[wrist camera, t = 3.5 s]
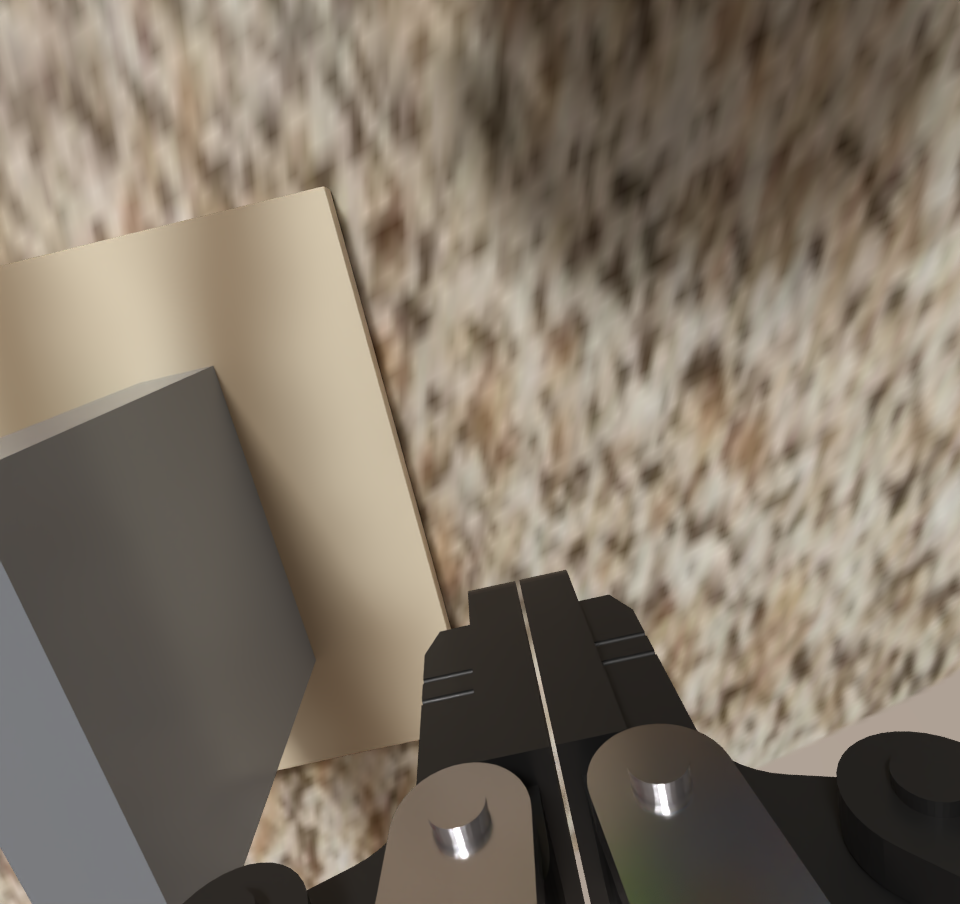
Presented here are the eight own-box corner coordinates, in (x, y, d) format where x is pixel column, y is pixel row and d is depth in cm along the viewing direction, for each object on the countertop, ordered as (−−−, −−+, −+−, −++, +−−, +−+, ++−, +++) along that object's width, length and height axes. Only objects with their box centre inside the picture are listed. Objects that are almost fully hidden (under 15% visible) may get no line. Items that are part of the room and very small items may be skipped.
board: (330, 189, 17) (323, 186, 16) (473, 710, 21) (474, 727, 20) (-408, 370, 17) (-448, 375, 16) (-115, 838, 22) (-136, 859, 21)
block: (213, 365, 17) (-41, 477, 8) (316, 660, 20) (203, 979, 11) (135, 383, 17) (-197, 513, 8) (247, 675, 20) (82, 1004, 11)
